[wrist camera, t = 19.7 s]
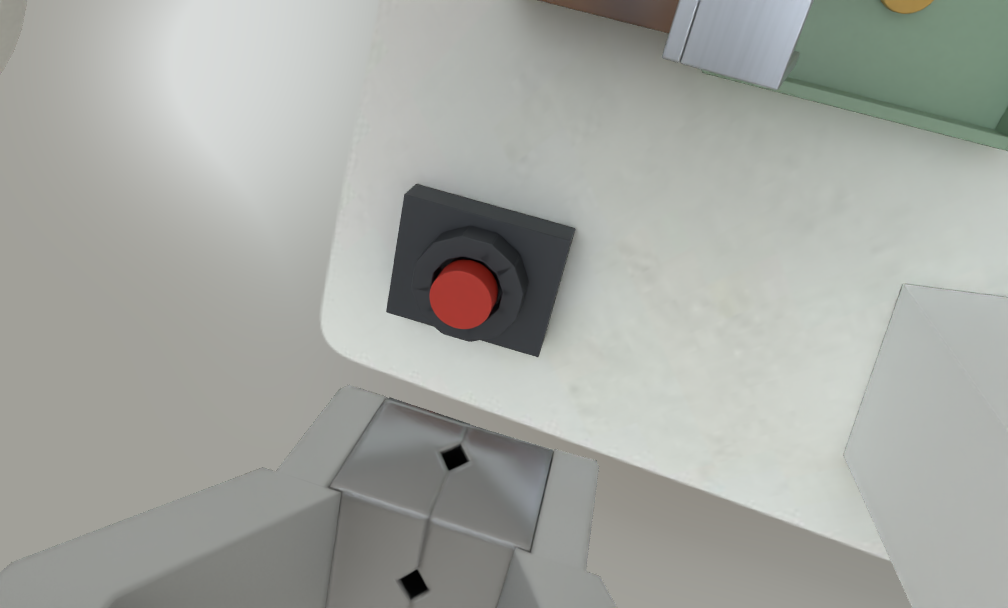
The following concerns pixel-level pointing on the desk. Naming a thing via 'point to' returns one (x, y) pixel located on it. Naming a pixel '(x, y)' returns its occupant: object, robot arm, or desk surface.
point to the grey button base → (491, 242)
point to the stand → (627, 11)
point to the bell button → (463, 294)
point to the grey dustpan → (738, 38)
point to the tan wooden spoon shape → (906, 5)
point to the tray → (909, 65)
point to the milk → (939, 447)
